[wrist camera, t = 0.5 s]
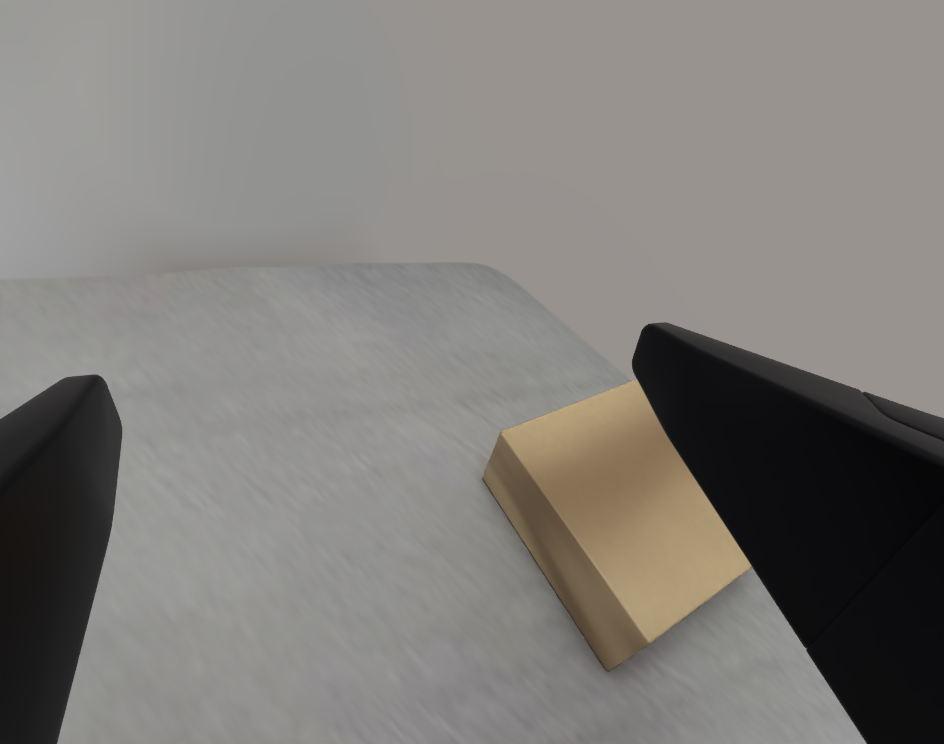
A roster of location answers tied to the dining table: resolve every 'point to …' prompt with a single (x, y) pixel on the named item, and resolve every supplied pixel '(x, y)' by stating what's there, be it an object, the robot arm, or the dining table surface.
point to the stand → (613, 519)
